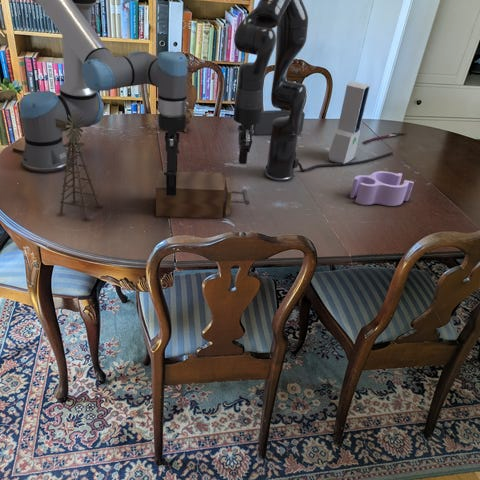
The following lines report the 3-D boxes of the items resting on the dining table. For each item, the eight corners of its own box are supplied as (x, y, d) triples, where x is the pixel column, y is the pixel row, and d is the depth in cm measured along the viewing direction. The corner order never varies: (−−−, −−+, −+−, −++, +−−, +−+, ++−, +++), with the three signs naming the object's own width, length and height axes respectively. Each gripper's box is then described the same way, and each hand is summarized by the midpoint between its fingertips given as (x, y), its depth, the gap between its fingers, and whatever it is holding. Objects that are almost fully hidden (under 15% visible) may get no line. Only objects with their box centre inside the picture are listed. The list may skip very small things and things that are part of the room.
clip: (362, 208, 153) (367, 189, 149) (343, 191, 163) (348, 173, 159) (412, 204, 159) (418, 185, 156) (392, 187, 169) (397, 170, 165)
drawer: (245, 200, 149) (247, 178, 145) (248, 215, 141) (251, 193, 137) (168, 197, 146) (168, 174, 142) (167, 213, 138) (167, 189, 133)
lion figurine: (191, 127, 202) (192, 107, 197) (195, 131, 198) (195, 111, 193) (158, 128, 197) (158, 107, 192) (160, 133, 193) (160, 111, 188)
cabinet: (220, 200, 149) (222, 173, 144) (222, 218, 140) (224, 190, 134) (158, 198, 146) (157, 170, 141) (155, 216, 137) (155, 187, 132)
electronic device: (344, 166, 181) (362, 88, 165) (326, 160, 185) (342, 83, 168) (355, 157, 191) (373, 82, 174) (338, 152, 194) (354, 78, 177)
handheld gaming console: (299, 131, 211) (303, 109, 205) (302, 133, 208) (305, 111, 203) (251, 133, 203) (254, 110, 198) (254, 135, 201) (256, 112, 196)
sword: (401, 132, 223) (402, 129, 222) (407, 134, 221) (407, 131, 220) (358, 143, 207) (358, 140, 206) (363, 145, 205) (364, 143, 204)
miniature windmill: (85, 220, 131) (75, 116, 115) (58, 214, 132) (43, 110, 116) (100, 205, 139) (92, 105, 123) (74, 200, 140) (62, 101, 124)
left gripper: (186, 130, 117) (184, 204, 128) (186, 101, 137) (184, 167, 149) (155, 128, 116) (156, 204, 127) (160, 99, 136) (161, 166, 148)
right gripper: (265, 112, 122) (257, 173, 131) (258, 97, 133) (252, 154, 142) (236, 110, 121) (231, 171, 130) (232, 96, 132) (228, 153, 141)
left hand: (171, 184), depth 138 cm, fingers open, 13 cm apart
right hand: (242, 162), depth 136 cm, fingers closed
